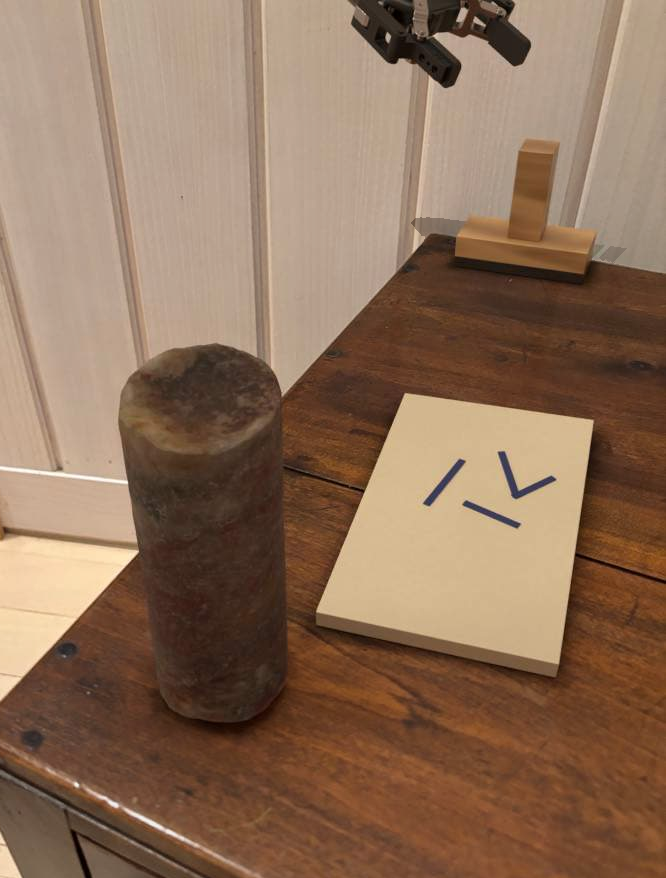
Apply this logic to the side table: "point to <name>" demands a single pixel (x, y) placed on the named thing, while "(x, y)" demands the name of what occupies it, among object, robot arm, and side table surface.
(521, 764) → the side table surface
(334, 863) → the side table surface
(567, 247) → the eraser
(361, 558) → the board
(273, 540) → the dark brown cylinder
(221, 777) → the side table surface
